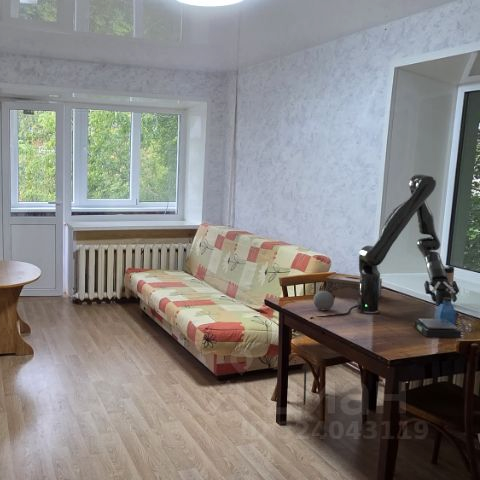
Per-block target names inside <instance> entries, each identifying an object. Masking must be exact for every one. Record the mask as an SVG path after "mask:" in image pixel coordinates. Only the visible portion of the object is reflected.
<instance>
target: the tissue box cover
mask: <svg viewBox="0 0 480 480" xmlns="http://www.w3.org/2000/svg"><path fill="white" fill-rule="evenodd" d="M325 279H326V283H325V286H326V287H325V291H327V292H329V293H331V295H332V296H333V297H336V298H337V297H338V298H343V299H350V300H357V301H358V292H359V291H360V275H357V274H347V273H340V272H334V273H333V274H330V275H329V276H326V278H325ZM382 283H383V278H381V277H380V289H379V298H381V297H382Z"/></svg>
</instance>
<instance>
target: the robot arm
mask: <svg viewBox="0 0 480 480" xmlns="http://www.w3.org/2000/svg"><path fill="white" fill-rule="evenodd" d="M408 186H409V190H410V194H411V195H410V196H409V197H408V198H407V199H405V200H404V202H402V203H401V204H399V205H397V206H396V207H395V208H394V209H393V210H392V211H391V212H390V214H389V215H388V216H387V218H386V219H385V221H384V223H383V227H382V230H381V234H380V236H379V238H378V239H377V241H376V242H375V243H374V245H365V246H363V247H361V249H360V251H359V253H358V254H359V255H358V271H359V276H360V291H359V292H358V300H357V301H355V305H353V306H351V307H350V308H349V310H348V311H347V312H344V313H334V314H335V315H331V314H326V315H327V316H316V317H312V316H311V317H309V320H312V319H314V318H330V317H331V318H332V317H337V316H347V315H349V314H350V313H352V310H353V309H356V310H358V312H359V313H362V314H370V315H371V314H372V315H373V314H378V313H379V310H380V309H379V308H380V297H379V289H380V278H381V273H380V271H379V268H378V266H379V265H381V264H382V263H383V262H384V261H385V258H386V257H387V255H388V253H389V252H390V250H391V248H392V246H393V245H394V244H395V242H396V241H397V239H398V238H399V236H400V235H401V233H402V232H403V231H404V230H405V228H406V227H407V225H409V223H410V221H411V220H412V218H413V217H414V215H415V214H416V216H417V225H418V232H419V233H420V235H425V236H426V235H428V237H421V238H418V239H417V241H416V248H417V250H418V251H419V253H420V254H421V255H422V257H423V259H424V262H425V266H426V271H427V274H428V277H429V281H428V280H425V281H424V284H423V286H424V291H425V294H426V295H430V298H431V301H433V303H436V301H437V298H436V290H438V291H446V292H448V293H450V294H451V297H452V301H451V302H452V303H456V301H458V298H457V295H458V294H459V292H460V288H459V286H458V284H457V281H456V280H453V282H449V281H448V279H447V275H446V272H445V268H444V266H445V265H444V263H443V261H442V258H441V255H440V253H439V252H438V250H440V248H441V241H440V239H439V237H438V234H437V232H436V228H435V219H434V218H435V217H434V215H433V213H432V209H431V208H430V206H429V204H428V201H427V199H428V198H429V197H430V196H431V195H432V193H434V191H435V189H436V187H437V181H436V178H435V177H434V176H431V175H427V174H420V173H419V174H418V173H417V174H414V175H413V176H411V178H409V183H408ZM449 285H451V287H450V286H449ZM430 286H431V287H432V290H431V287H430ZM447 288H448V289H447ZM452 288H453V289H452ZM303 368H304V369H303V405H306V399H307V398H306V397H307V367H303Z"/></svg>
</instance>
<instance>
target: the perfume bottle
mask: <svg viewBox="0 0 480 480" xmlns="http://www.w3.org/2000/svg"><path fill="white" fill-rule="evenodd" d="M443 299H444V300H443V304H440V305H438V306H437V308H436V315H435V319H446V320H448V321H449V322H451V323H452V324H453V325H455V326H456V315H457V311H456V310H455V308H454V306H453V305H452V301H450V300H451V298H448V297H444V298H443ZM450 304H451V305H450Z"/></svg>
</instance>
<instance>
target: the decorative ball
mask: <svg viewBox="0 0 480 480" xmlns="http://www.w3.org/2000/svg"><path fill="white" fill-rule="evenodd" d="M312 300H313V305H314V306H315V307H316V309H318V310H320V311H322V310H321V309H324V310H323V311H328V310H330V309H331V308H332V307H333V306H334V305H335V304H334V303H335V299H334V296H332V295H331V293H329V292H327V291H326V290H320V291H318V292H316V293H315V294H314V295H313V299H312ZM327 309H328V310H327Z"/></svg>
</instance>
